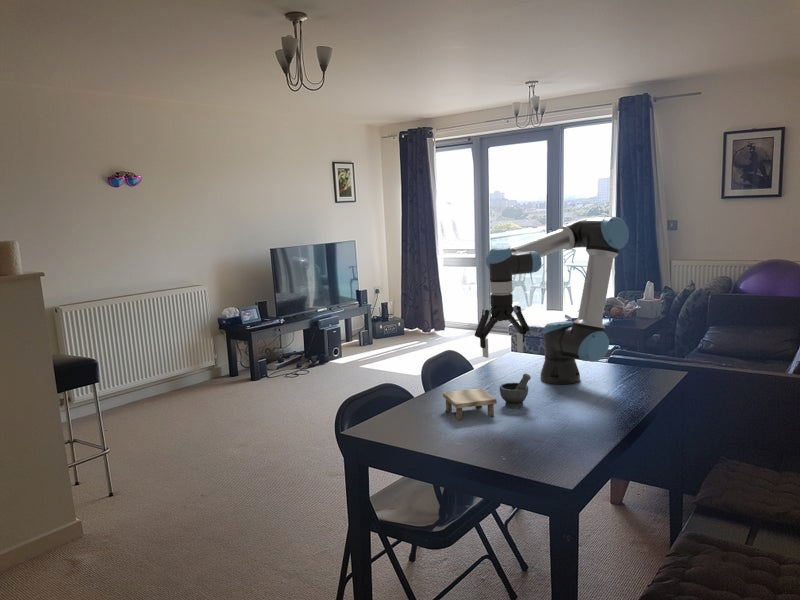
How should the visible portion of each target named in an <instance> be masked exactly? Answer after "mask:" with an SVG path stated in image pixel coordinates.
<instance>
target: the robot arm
mask: <svg viewBox="0 0 800 600" xmlns="http://www.w3.org/2000/svg"><path fill="white" fill-rule="evenodd" d="M629 237H630V234H629V228H628V226H627V224H626V222H625V220H623V219H622V218H621V217H618V216H610V215H609V216H608V215H607V216H588V217H583V218H579V219H576V220H574V221H570V222H568V223H565V224H564V225H561V226H559V227H558V228H557V229H556V230H555V231H551V232H549V233H545V234H543V235H541V236H538V237H535V238H532V239H529V240H527V241H525V242H522V243H518V244H516V245H513V246H510V247H496V248H491V249H490V250H489V253H488V254H487V256H486V259H485V264H486V267H487V268H488V270H489V291H490V293H491V294H490V295H489V297H490V298H489V299H490V300H489V301H490V302H489V303H490V309H486V308H483V309H482V313H481V317H480V320H479V323H478V325H477V327H476V329H475V332H474V337H476V338H479V346H480V348H481V349H482V357H484V358H485V359H488V358H489V338H487V337H488V335H489V333H490V332H491V331H492V329H493V328H494V326H495V325H496V324H497V323H498V322H502V321H508V322H510V324H511V325H512V326H513V327H514V328H515V330H516V331H517V333H516V352H517V353H520V354H521V353H522V354H523V353H524V343H525V341H526V340H525V335H527V332H529V331H530V327H529V325H528V323H527V321H526V319H525V316H524V315H523V313H522V308H521V307H522V306H521V305H518V304H517V305H514V306H513V303H514V302H513V301H514V300H513V296H514V295H513V294H512V292H513V291H514V290H513V275H514V276H515V275H524V274H525V275H526V274H533V273H537V272H538V271H540V270H541V268H542V258H543V257H545V256H548V255H551V254H554V253H557V252H558V251H561V250H566V251H569V250H572V249H576V248H577V249H578V248H586V249H585V252H586V253H587V254H588V261H587V266H586V272H585V277H584V283H583V289H582V295H581V300H580V304H579V309H578V317H577V318H576V319H575V320H574V321H570V320H569V321H566V320H565V321H554V322H550V323H546V324H545V326H544V331H543V332H544V333H543V339H544V340H543V341H544V361H543V364H542V368H541V371H540V381H542V382H544V383H548V384H553V385H571V384H572V385H573V384H576V383H578V382H580V381H581V373H580V371H579V367H578V365H577V362H576V359H577V360H581V361H582V362H583V361H584V362H590V363H591V362H592V363H595V362H598V361H601V360H602V358H604V357H605V356H606V354H607V353H608V351H609V347H610V340H609V336H608V335H607V334H606V332H605V330H606V327H605V325H604V324H603V316H604V313H605V308H606V307H605V306H606V300H607V294H608V289H609V284H610V278H611V272H612V267H613V261H614V259H615V258H616V257H618V256H619V253H620V250H621V249H622V248H624V247H625V246H626V245H627V243H628V241H629ZM513 312H514V315H515V316H516V318H517V319H516V318H515V317H514V316H513ZM489 316H490V317H489ZM518 321H519V322H518Z"/></svg>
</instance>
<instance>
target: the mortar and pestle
mask: <svg viewBox="0 0 800 600" xmlns="http://www.w3.org/2000/svg"><path fill="white" fill-rule="evenodd" d="M531 377H532V376H531V375H530V374H529V373H523V374H522V378H520V381H519V382H506V383H502V384H501V385H500V386H499V394H500V396H501V398H502V399H503V400H504V401H505V403H504V406H505V407H506V408H509V409H520V408H523V407H524V401H525V400H526V398H527V396H528V394H529V385H528V383H529V381H530V380H531Z"/></svg>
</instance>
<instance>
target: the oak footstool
mask: <svg viewBox="0 0 800 600" xmlns="http://www.w3.org/2000/svg"><path fill="white" fill-rule="evenodd" d="M442 397H443V398H444V400H445V411H446V410H447V412H451V411H452V410H453V407H454V408H455V413H456V414H455V416H456V417H455V418H456V421H457V422H462V421H463V419H464V417H463V409H464V408H472V407H473V408H474V407H477V408H482V407H483V406H487V416H488V417H490V418H492V417H495V411H494V410H495V404H498V403H497V402H498V401H497V398H496V397H494V396H493V395H491V394H490V393H488V392H487V391H486V390H485V389H483V388H482V387H479V388H471V389H469V388H468V389H460V390H454V391H453V390H452V391H445V392H442ZM448 410H449V411H448ZM450 410H451V411H450Z"/></svg>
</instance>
